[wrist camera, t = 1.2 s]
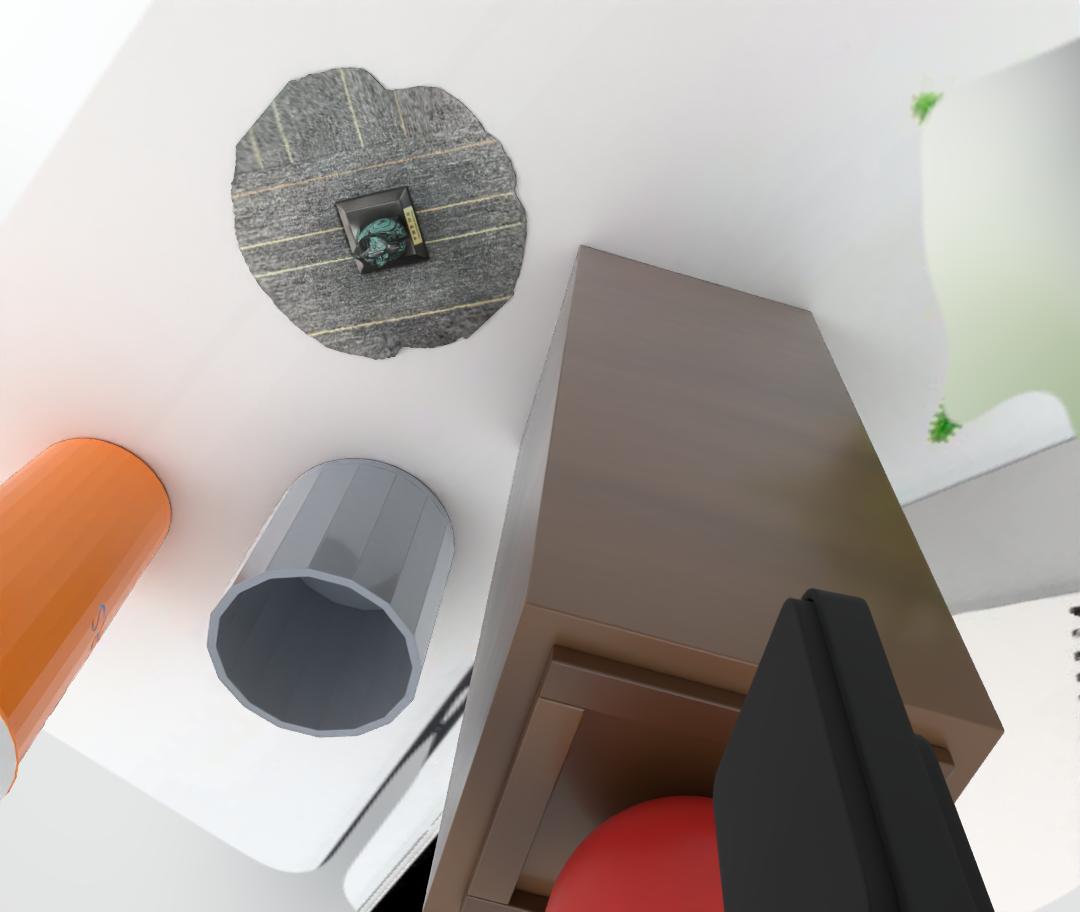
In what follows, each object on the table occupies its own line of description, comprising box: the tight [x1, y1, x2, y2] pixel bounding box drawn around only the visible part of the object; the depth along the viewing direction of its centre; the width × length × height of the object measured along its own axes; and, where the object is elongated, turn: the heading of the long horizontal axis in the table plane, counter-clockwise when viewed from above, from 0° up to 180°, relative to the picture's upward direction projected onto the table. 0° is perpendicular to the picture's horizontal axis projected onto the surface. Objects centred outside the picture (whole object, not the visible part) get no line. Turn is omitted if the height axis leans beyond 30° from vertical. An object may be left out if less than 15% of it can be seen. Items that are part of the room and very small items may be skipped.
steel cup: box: [207, 459, 454, 737], centre depth 44 cm, size 9×9×9 cm
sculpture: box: [231, 68, 527, 360], centre depth 40 cm, size 12×9×8 cm
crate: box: [422, 245, 1004, 912], centre depth 32 cm, size 10×10×24 cm
